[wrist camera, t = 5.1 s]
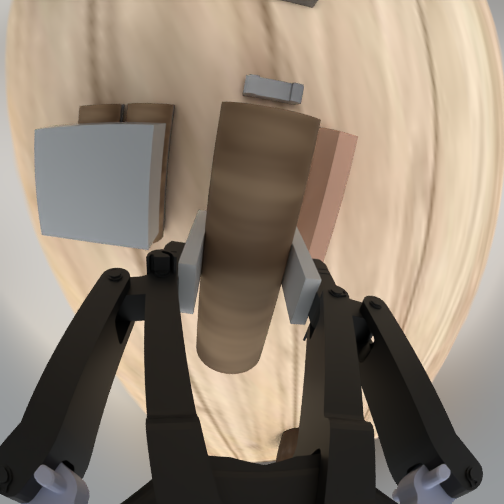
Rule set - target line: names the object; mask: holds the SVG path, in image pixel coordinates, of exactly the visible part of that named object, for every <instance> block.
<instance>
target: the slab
mask: <svg viewBox="0 0 504 504" xmlns="http://www.w3.org/2000/svg"><path fill="white" fill-rule="evenodd" d="M165 128H166V123H150V122H99V123H79V124H65V125H55V126H50V127H45V128H40V129H36V130H35V144H34V153H35V180H36V193H37V203H38V212H39V219H40V226H41V232H42V235H46V236H53V237H60V238H66V239H73V240H80V241H87V242H94V243H102V244H109V245H116V246H123V247H131V248H138V249H145V250H149V248H150V246H151V245H152V243H153V241H154V240H155V238H156V236H157V235H158V233H159V203H160V184H161V170H162V157H163V147H164V137H165Z"/></svg>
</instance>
